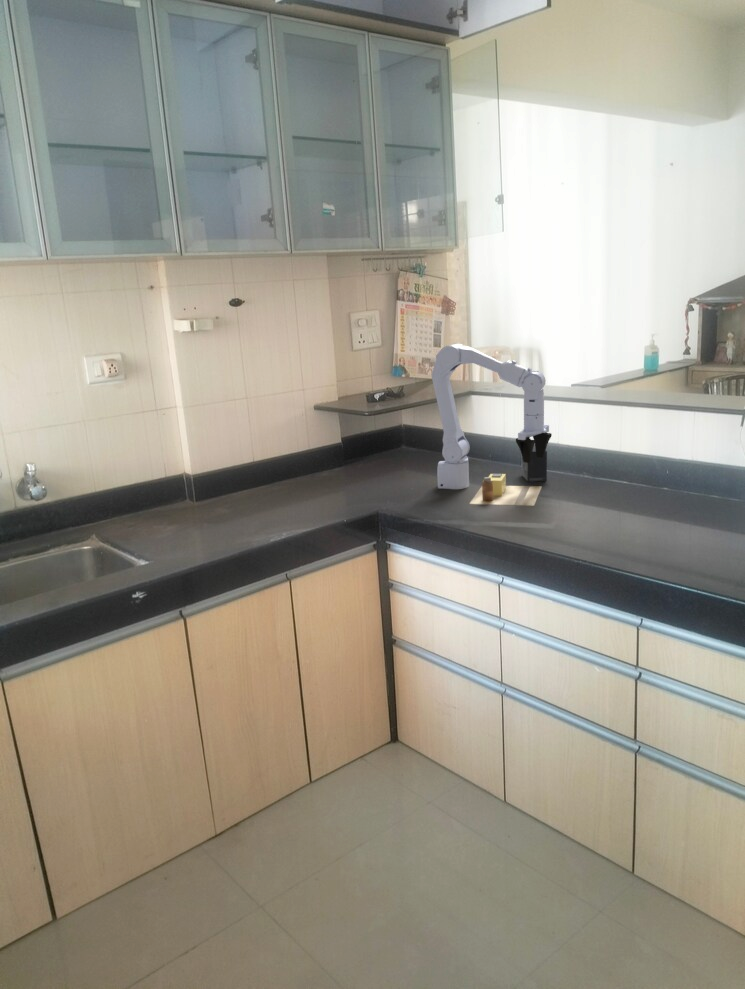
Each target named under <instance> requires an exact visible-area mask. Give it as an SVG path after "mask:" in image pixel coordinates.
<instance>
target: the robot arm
mask: <svg viewBox="0 0 745 989" xmlns="http://www.w3.org/2000/svg"><path fill="white" fill-rule="evenodd" d="M517 363H518V362H517V361H516V360H514V359H513V360H512V361H511V360H506V361H503V362H502V361H499V360H498V359H496V358H494V357H492V356H489V355H487V354H485V353H483V352H481V351H479V350H477V349H476V348H473V347H471V346H468V345H464V344H462V343H457V342H456V343H452V344H450V345H445V346H443V347H442V348H441V349H440V350H439V351H438V353H437V354H436V355H435V361H434V365H433V369H432V372H431V380H432V384H433V389H434V393H435V398H436V403H437V406H438V408H437V409H438V412H439V417H440V421H441V425H442V430H443V435H442V444H443V445H442V450H441V451H442V452H441V453H442V457H443V458H444V460H440V461H438V463H437V470H436V472H437V489H445V490H447V489H448V490H462V489H467V488H469V487H470V479H469V478H470V476H469V475H470V474H469V472H470V470H469V469H470V468H469V467H470V466H469V458H468V456H467V455H468V453H469V452H470V447H471V446H470V442H469V441H468V440H467V438H466V437H465V433H464V431H463V429H462V428H461V424H460V420H459V414H458V410H457V406H456V401H455V397H454V392H453V388H452V384H451V376H452V375H453V374H454V372H455V370H456V369H457V368H458V367H460V366H461V365H467V364H468V365H469V364H475V365H477V366H479V367H482V368H484V369H487V370H489V371H492V372H495V373H497V374H498V377H499V379H500V380H503V381H504V382H506V383H510V384H511V385H513V386H516V387H518V388H521V389H522V390H523V394H524V395H523V396H524V397H523V429H522V430H521V431H520V432H518V433H517V438H515V443H516V444H517V447H518V448H519V451H520V454H521V459H522V458H523V462H525V463H531V460H532V451H533V447H534V445H535V448H536V456H537V457H540V458H544V455H545V451H547V446H548V445H549V441H550V439H551V437H552V434H553V433H551V432H550V425H549V424H545V398H544V395H545V393H544V389H543V388H544V387H545V385H546V377H545V375H544V374H543V373H542V372H541V371H539V370H533V369H532V368H531V367H528V368H527V367H525V366H522V365H520V364H517ZM532 370H533V371H532ZM531 437H532V438H531Z"/></svg>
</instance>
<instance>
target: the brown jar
mask: <svg viewBox="0 0 745 989" xmlns="http://www.w3.org/2000/svg"><path fill="white" fill-rule="evenodd" d="M481 487H482V498H483V501H493V481H492V480H491V478H490V477H489V476H487V477H486V476H484V477H483V480H482V481H481Z"/></svg>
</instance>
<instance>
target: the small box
mask: <svg viewBox="0 0 745 989" xmlns="http://www.w3.org/2000/svg"><path fill="white" fill-rule="evenodd" d="M547 464H548V451H547V450H546V451H545V455H544V458H540V457H537V456H536V448H535V444H534V447H533V451H532V460H531V463H525V462H523V458H522V457H521V477H523V478H524V480H525V481H526V482H529V483H530V482H543V481H547V480H548V479H547V478H548V476H547V475H548V474H547V473H548V471H547V470H548V465H547Z"/></svg>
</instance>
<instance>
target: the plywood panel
mask: <svg viewBox="0 0 745 989" xmlns="http://www.w3.org/2000/svg"><path fill="white" fill-rule="evenodd" d="M542 487H543V486H542V485H541V486H540V485H539V486H535V485H534V486H533V485H506V489H505V491H504V493H503V495H502V496H495V495H493V501H483V498H482V486H481V487H480V488H479V490H477V492H476V493H475V495H474V496H473V498H472V499H471V500H470V502H469V505H488V506H489V505H491V506H492V505H494V506H496V505H497V506H499V505H500V506H528V507H531V506H532V507H534V506H535V504H536V502H537V500H538V498H539V494H540V492H541V490H542Z"/></svg>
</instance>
